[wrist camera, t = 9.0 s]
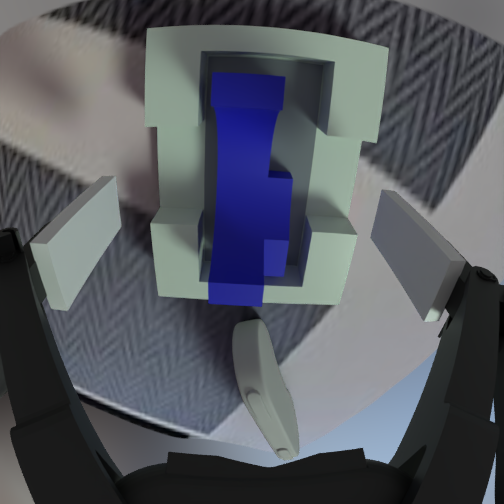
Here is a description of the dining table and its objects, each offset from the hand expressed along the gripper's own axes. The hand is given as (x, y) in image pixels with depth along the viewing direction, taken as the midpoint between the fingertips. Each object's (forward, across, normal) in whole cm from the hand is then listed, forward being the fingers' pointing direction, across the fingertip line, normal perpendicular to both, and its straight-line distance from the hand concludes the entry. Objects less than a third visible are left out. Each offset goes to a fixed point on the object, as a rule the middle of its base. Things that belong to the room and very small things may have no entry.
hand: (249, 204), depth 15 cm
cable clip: (+6, 0, 0) cm, 6 cm away
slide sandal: (+7, +4, -21) cm, 22 cm away
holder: (+7, +1, 0) cm, 7 cm away
